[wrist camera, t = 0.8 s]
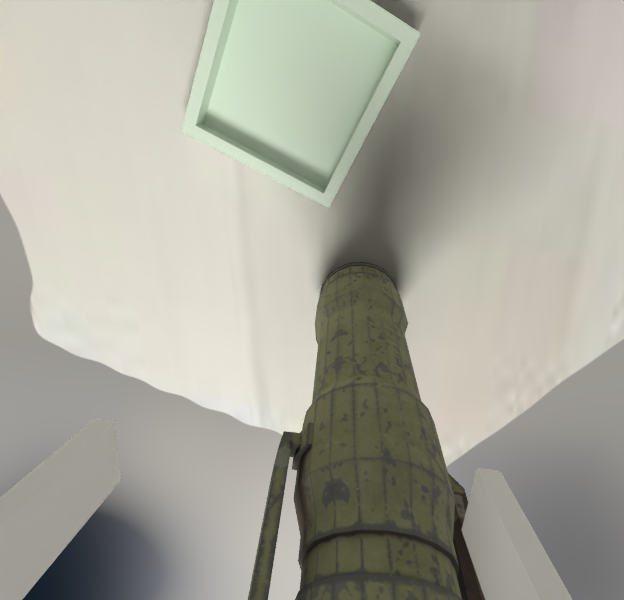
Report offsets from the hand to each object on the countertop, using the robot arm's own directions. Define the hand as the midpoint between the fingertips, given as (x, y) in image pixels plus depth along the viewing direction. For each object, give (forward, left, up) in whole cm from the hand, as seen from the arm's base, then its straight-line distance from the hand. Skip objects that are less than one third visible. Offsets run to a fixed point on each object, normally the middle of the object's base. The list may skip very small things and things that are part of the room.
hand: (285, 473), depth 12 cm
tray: (-10, -8, -26) cm, 29 cm away
